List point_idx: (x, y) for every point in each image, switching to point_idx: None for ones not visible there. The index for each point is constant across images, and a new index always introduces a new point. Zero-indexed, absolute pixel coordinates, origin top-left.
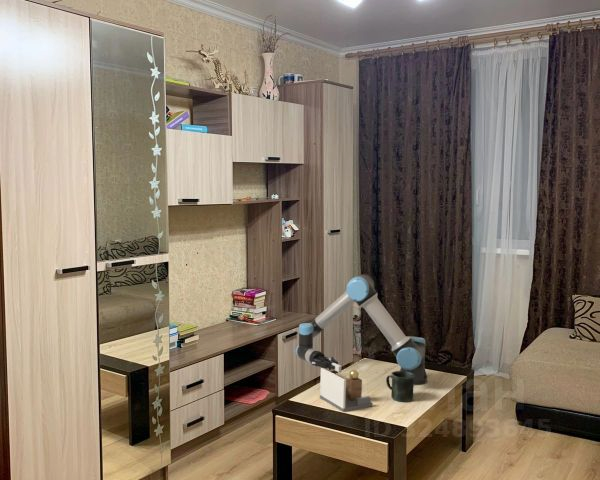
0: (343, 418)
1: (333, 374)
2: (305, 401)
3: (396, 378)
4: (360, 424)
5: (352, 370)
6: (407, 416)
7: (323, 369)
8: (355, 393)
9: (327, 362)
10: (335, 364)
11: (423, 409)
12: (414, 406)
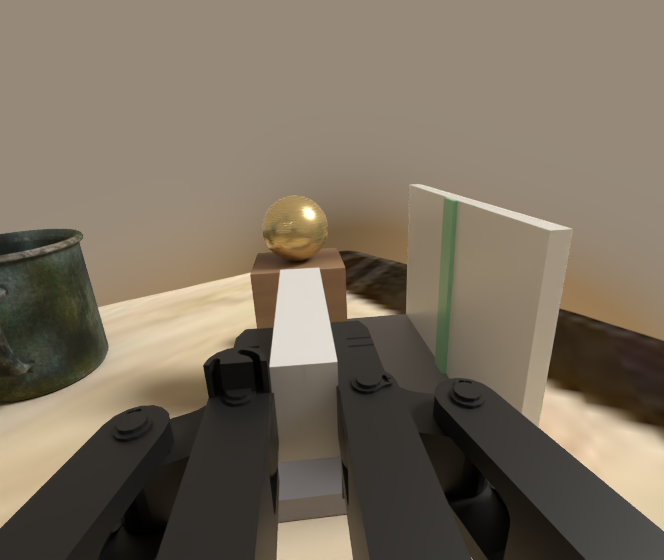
0: None
1: (458, 196)
2: (656, 460)
3: (77, 247)
4: (391, 277)
5: (304, 197)
6: (222, 286)
7: (537, 219)
8: None
9: (403, 460)
10: (308, 311)
11: (123, 303)
12: (116, 318)
